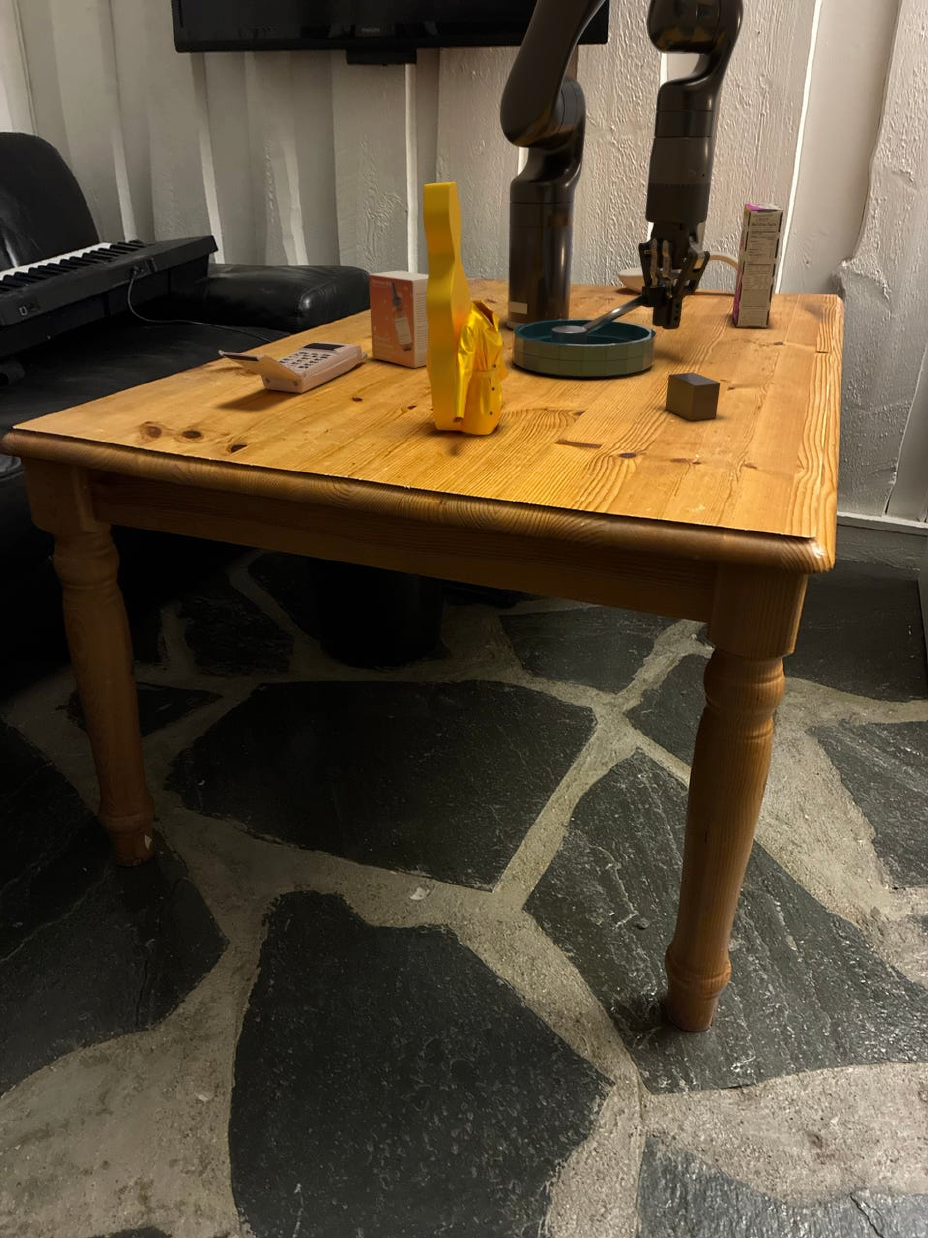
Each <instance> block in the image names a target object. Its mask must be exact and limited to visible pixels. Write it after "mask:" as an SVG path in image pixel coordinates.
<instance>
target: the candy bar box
mask: <svg viewBox="0 0 928 1238" xmlns="http://www.w3.org/2000/svg"><path fill="white" fill-rule="evenodd" d="M743 207H744V208H743V215H742V216H743V217H742V224H741V231H740V241H739V242H740V243H739V250H738V257H737V259H738V267H737V271H736V277H735V285H734V293H733V294H734V295H733V304H732V312H731V314H732V317H733V321H734V325H735V328H736V327H737V328H742V329H746V328H747V329H767V328H768V327H769V321H770V313H771V305H772V299H773V298H772V297H773V291H774V285H775V284H774V283H775V276H776V270H777V261H778V254H779V248H780V240H781V231H782V222H783V216H784V209H783V208H782V207H781V206H780V205H778V203H776V202H775V203H771V202H766V203H765V202H757V203H755V202H751V203H750V202H749V203H744V206H743Z"/></svg>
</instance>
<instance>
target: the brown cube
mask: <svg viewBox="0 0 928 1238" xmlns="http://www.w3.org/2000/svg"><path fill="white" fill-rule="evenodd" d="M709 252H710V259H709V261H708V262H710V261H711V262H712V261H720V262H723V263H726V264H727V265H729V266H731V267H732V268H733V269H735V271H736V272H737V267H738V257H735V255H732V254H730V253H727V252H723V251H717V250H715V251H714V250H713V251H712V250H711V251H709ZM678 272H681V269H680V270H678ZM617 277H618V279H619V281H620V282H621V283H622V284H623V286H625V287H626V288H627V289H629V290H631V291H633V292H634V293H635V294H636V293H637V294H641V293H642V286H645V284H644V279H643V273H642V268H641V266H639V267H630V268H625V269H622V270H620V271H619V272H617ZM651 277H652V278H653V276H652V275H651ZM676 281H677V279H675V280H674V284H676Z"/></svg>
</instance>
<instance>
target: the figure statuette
mask: <svg viewBox="0 0 928 1238" xmlns="http://www.w3.org/2000/svg"><path fill="white" fill-rule="evenodd" d="M457 184H458V183H457V182H456V181H446V182H445V181H443V182H433V183H432V182H431V183H425V184H424V185H423V189H422V190H423V191H422V194H423V195H422V197H423V198H422V201H423V202H422V218H423V219H422V220H423V226H424V234H425V239H426V249H427V263H428V264H427V265H428V275H429V277H428V285H427V293H426V314H427V322H428V344H427V358H426V365H425V366H426V372H427V377H428V380H429V385H430V397H431V398H430V399H431V406H432V407H431V408H432V415H433V421H434V426H435V428H436V430H437V431H460V432H463V433H467V434H472V435H477V436H479V435H481V436H482V435H483V436H485V435H490V434H492V433H493V432H494V430H495V429H496V428H497V426H498V424H499V421H500V416H501V411H502V405H503V387H502V383H501V382H502V381H504V380H505V379H506V378H508V377H509V372H508V369H507V367H506V363H505V361H504V358H503V356H502V355H503V352H504V347H505V341H504V339H503V336H502V333H501V332H500V330H499V321H500V317H499V316H498V315H497V313H495V312H494V310H493V309H491V307H489V306H488V305H487V304H486V303H485V302H484V301H483V300H481V299H478V300H471V293H470V287H469V283H468V279H467V277H466V273H465V272H466V271H465V269H464V265H463V261H462V253H461V247H462V246H461V245H462V244H461V243H462V212H461V203H460V197H459V190H458V185H457Z"/></svg>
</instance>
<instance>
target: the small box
mask: <svg viewBox="0 0 928 1238" xmlns="http://www.w3.org/2000/svg"><path fill="white" fill-rule="evenodd" d="M368 276H369V300H370V302H369V303H370V307H369V308H370V329H371V331H370V333H371V354H372V356H371V357H372V359H375V360H382V361H386V362H388V363H389V362H390V363H392V364H393V363H394V364H397V365H401V366H405V367H408V368H411V369H417V368H420V367H424V366H427V365H426V358H427V344H428V322H427V314H426V293H427V285H428V277H429V273H418V272H412V271H411V272H410V271H405V270H392V271H391V270H390V271H385V272H375V273H369V275H368Z"/></svg>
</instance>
